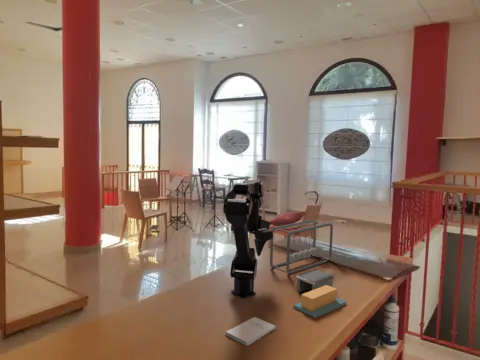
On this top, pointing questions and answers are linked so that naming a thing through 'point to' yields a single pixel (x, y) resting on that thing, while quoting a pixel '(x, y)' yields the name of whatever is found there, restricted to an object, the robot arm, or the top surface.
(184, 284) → the top surface
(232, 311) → the top surface
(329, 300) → the tan rectangular slab
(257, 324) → the external hard drive
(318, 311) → the mat
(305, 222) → the newton's cradle
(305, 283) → the dispenser
